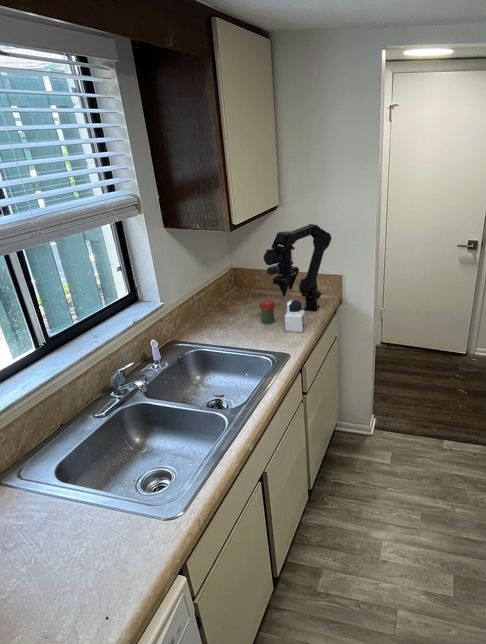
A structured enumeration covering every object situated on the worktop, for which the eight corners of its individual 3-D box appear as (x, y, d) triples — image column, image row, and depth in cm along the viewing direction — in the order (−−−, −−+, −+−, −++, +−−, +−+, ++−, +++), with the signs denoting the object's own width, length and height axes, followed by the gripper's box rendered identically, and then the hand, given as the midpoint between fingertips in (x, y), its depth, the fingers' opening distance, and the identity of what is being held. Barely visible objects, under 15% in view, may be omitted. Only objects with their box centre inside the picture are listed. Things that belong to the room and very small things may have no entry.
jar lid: (263, 305, 206) (263, 298, 205) (276, 306, 205) (276, 299, 203) (257, 310, 200) (257, 303, 199) (271, 311, 199) (270, 305, 197)
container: (305, 325, 201) (304, 298, 196) (302, 332, 194) (301, 305, 189) (288, 324, 202) (287, 298, 197) (285, 331, 195) (283, 304, 190)
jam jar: (265, 318, 208) (263, 299, 204) (276, 319, 207) (275, 301, 203) (260, 323, 203) (258, 304, 199) (271, 324, 202) (270, 305, 198)
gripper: (276, 253, 207) (278, 284, 213) (260, 265, 191) (263, 298, 197) (298, 255, 205) (300, 286, 211) (284, 266, 188) (286, 300, 194)
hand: (287, 292), depth 203 cm, fingers open, 8 cm apart
